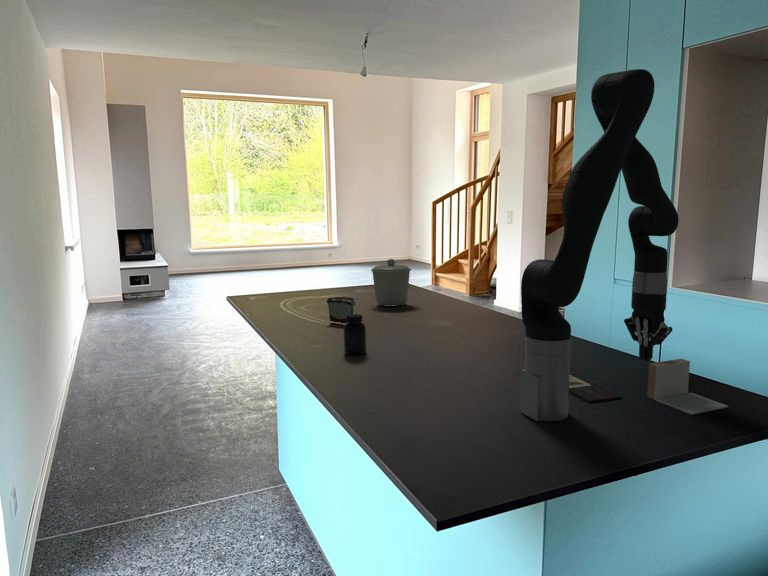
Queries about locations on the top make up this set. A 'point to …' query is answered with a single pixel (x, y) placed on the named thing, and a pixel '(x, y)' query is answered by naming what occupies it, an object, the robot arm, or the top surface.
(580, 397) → the chocolate bar
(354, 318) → the supplement bottle
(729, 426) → the top surface
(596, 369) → the top surface
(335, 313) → the food container
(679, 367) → the tile
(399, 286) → the canister
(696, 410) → the mat
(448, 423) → the top surface
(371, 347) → the top surface
